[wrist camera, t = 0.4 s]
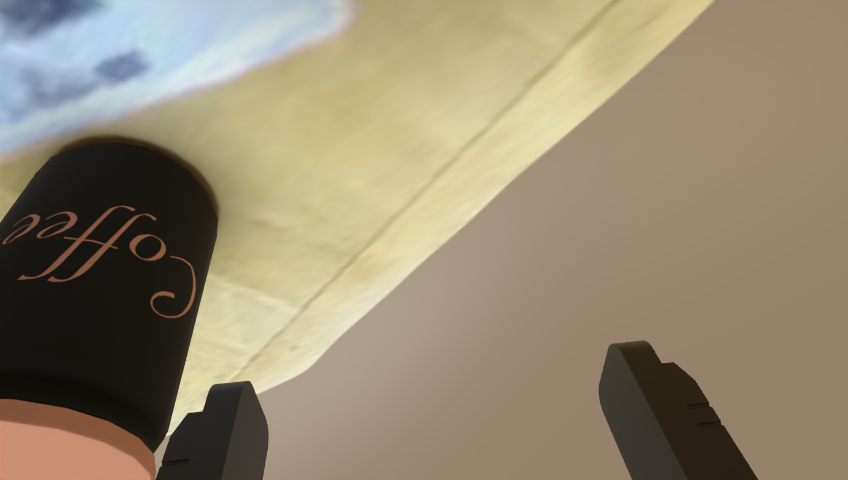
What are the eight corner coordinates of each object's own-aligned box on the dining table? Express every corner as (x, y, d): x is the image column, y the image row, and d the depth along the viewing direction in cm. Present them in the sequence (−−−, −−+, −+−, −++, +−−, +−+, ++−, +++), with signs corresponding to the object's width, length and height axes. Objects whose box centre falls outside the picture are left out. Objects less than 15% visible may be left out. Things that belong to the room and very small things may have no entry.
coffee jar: (251, 193, 34) (199, 460, 21) (175, 279, 39) (94, 542, 26) (80, 99, 28) (-137, 388, 15) (14, 213, 33) (-194, 510, 20)
